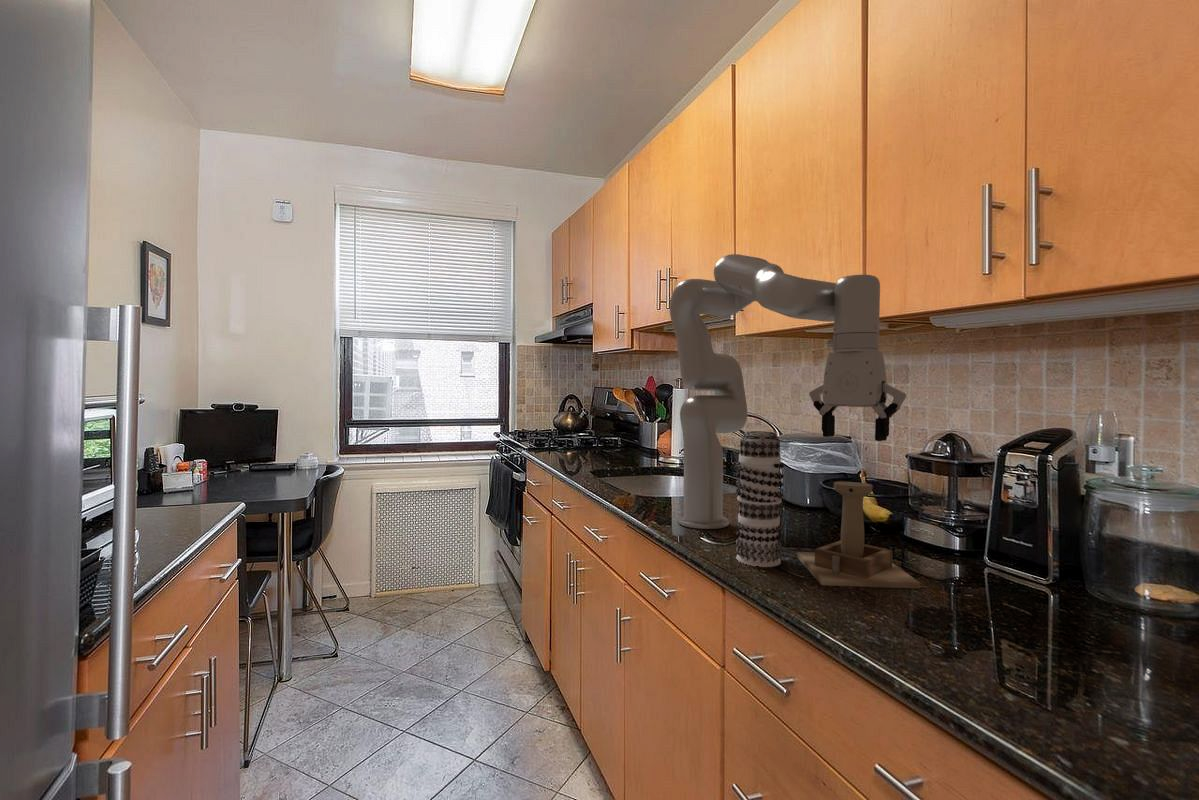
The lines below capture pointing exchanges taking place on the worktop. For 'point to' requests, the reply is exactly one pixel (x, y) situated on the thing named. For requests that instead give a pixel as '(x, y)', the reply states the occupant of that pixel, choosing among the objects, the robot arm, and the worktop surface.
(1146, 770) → the worktop surface
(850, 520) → the handle
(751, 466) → the decorative candle
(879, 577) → the socket plate
